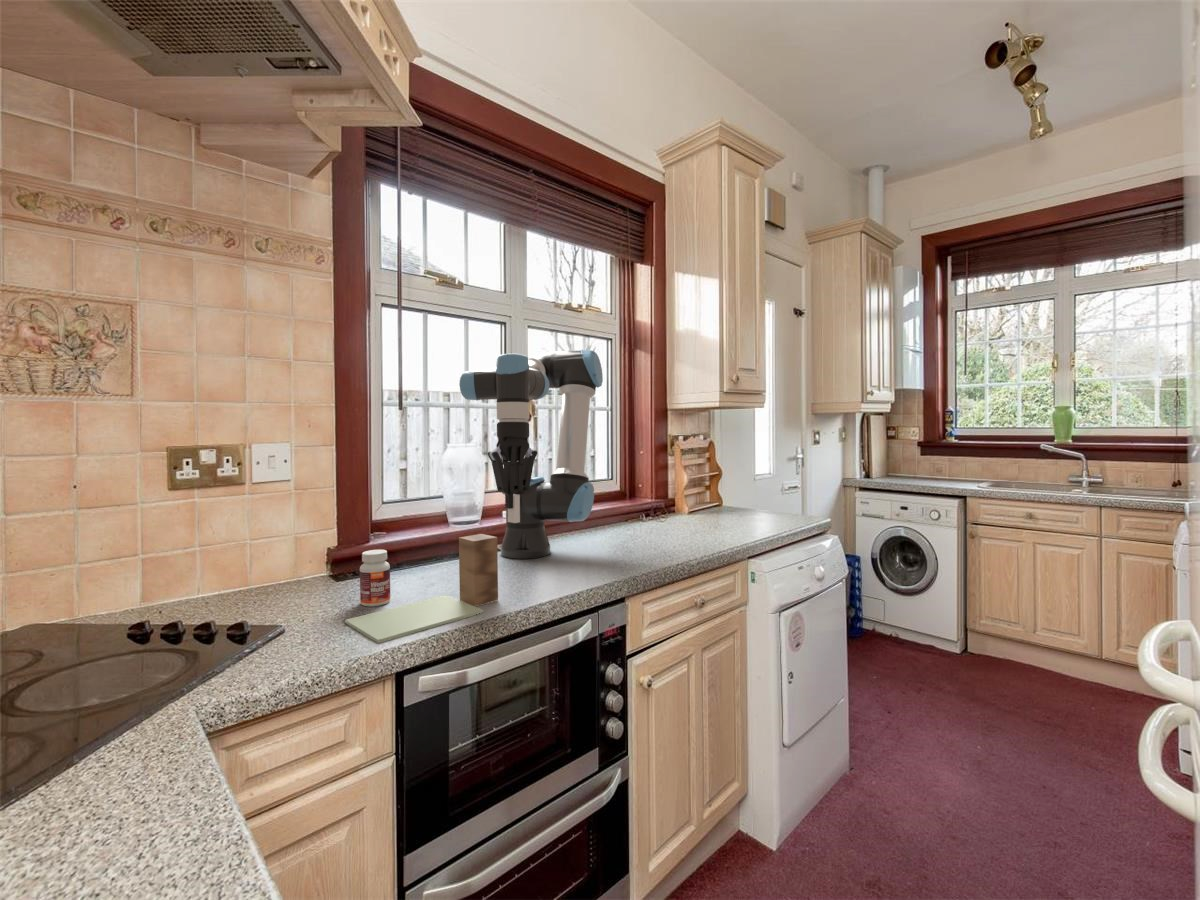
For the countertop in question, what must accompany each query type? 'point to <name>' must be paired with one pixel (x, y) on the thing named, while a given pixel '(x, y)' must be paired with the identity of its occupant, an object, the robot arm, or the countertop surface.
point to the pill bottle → (374, 578)
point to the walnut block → (478, 569)
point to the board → (412, 618)
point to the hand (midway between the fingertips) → (513, 521)
